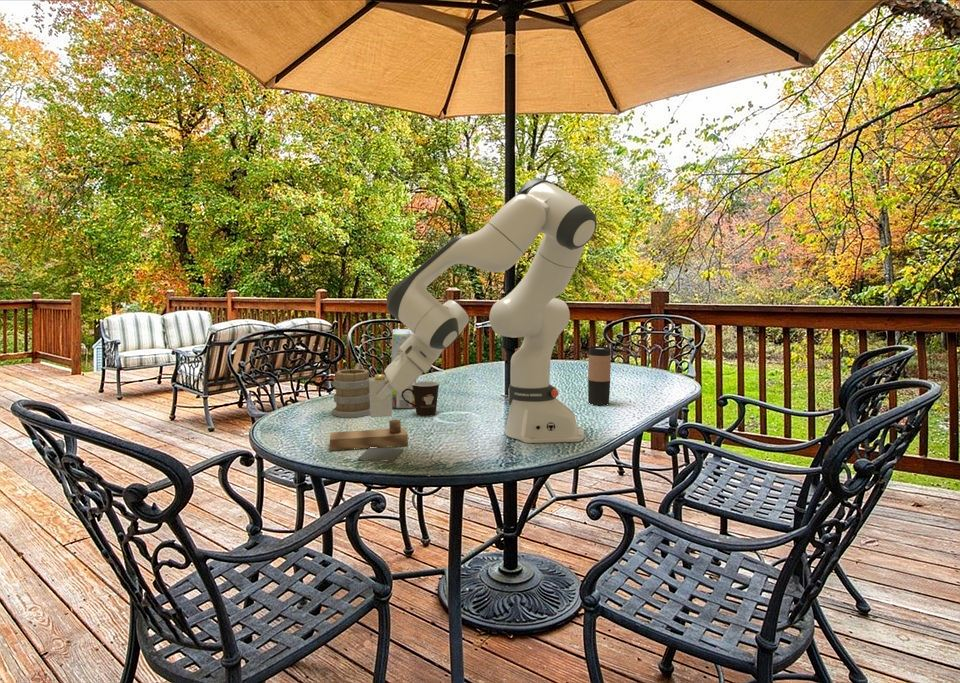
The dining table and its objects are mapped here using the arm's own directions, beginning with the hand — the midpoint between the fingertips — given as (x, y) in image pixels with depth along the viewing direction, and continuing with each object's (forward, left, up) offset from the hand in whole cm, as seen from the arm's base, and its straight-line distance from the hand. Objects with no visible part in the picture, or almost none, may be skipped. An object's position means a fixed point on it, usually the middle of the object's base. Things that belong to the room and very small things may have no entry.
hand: (377, 395), depth 138 cm
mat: (0, -1, -15) cm, 16 cm away
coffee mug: (-1, -44, -16) cm, 47 cm away
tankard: (+22, -46, -16) cm, 54 cm away
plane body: (+6, -9, -15) cm, 19 cm away
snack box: (+9, -60, -16) cm, 63 cm away
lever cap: (0, 0, -5) cm, 5 cm away
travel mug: (-60, -65, -16) cm, 90 cm away
